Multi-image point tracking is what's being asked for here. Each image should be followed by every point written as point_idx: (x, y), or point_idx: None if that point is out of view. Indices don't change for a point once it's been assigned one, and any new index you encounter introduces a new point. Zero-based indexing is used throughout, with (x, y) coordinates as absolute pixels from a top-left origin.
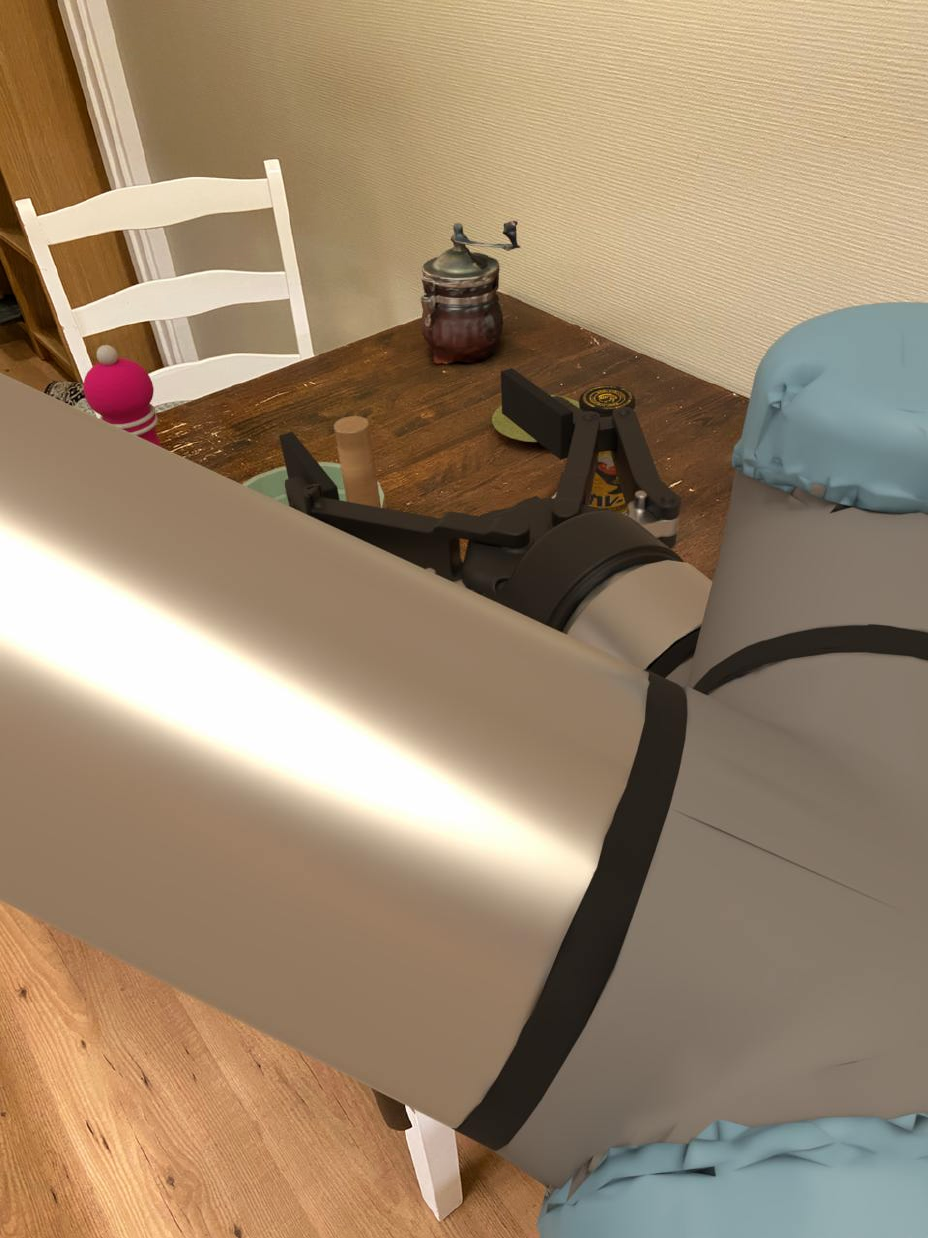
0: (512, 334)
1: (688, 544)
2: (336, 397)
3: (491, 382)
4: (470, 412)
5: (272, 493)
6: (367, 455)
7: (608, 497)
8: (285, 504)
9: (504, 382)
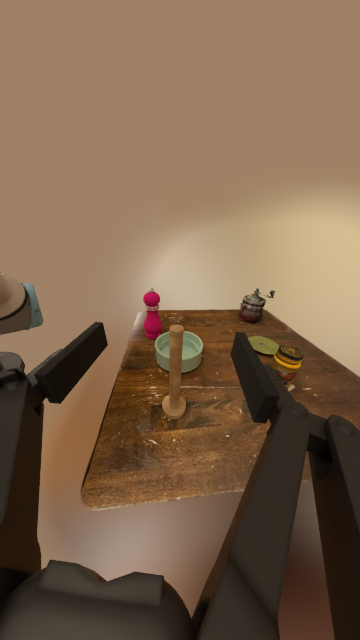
0: (263, 319)
1: None
2: (211, 319)
3: (252, 329)
4: None
5: None
6: (178, 341)
7: None
8: None
9: (236, 339)
